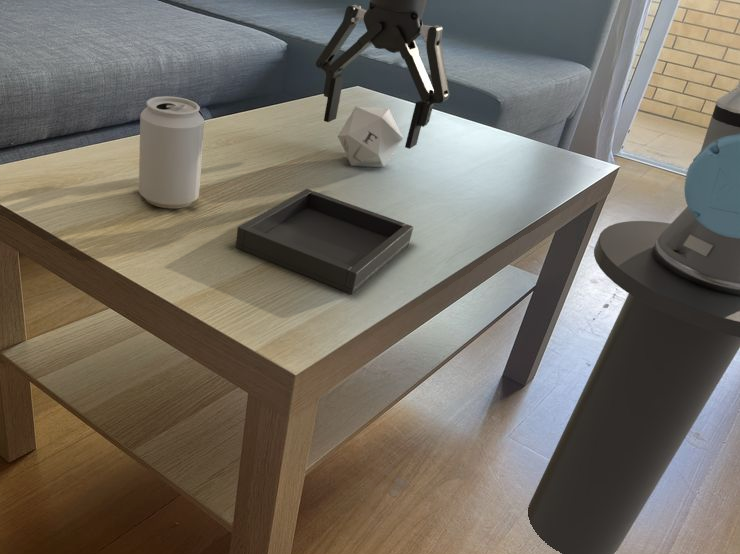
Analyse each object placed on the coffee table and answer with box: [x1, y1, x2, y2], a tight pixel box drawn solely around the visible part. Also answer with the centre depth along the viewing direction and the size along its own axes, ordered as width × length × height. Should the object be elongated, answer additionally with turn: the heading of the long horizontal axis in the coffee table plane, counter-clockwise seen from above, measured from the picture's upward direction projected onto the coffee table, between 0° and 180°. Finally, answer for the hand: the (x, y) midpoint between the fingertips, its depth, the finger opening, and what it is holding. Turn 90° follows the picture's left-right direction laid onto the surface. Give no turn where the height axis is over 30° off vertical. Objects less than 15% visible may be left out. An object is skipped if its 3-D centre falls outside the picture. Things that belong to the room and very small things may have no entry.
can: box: [138, 95, 205, 210], centre depth 88 cm, size 8×8×12 cm
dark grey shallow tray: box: [235, 188, 414, 295], centre depth 85 cm, size 15×16×3 cm
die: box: [337, 105, 404, 168], centre depth 109 cm, size 8×9×10 cm
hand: (369, 132), depth 109 cm, fingers open, 13 cm apart
